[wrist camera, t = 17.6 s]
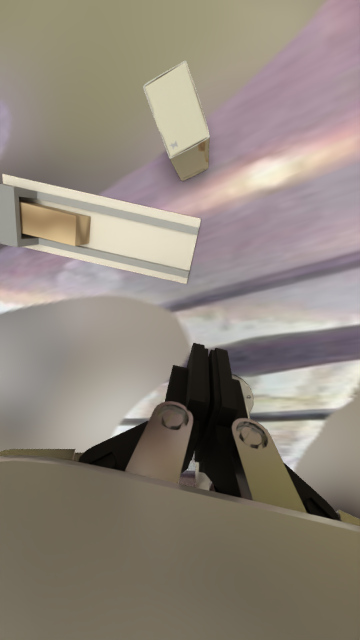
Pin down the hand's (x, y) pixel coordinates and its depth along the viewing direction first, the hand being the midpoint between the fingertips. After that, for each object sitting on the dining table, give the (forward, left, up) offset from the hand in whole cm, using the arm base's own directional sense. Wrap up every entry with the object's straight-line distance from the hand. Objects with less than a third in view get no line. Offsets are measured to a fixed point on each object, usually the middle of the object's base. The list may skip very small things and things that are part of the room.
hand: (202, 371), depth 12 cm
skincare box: (+15, +6, -29) cm, 33 cm away
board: (+2, +17, -29) cm, 34 cm away
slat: (+2, +25, -28) cm, 37 cm away
